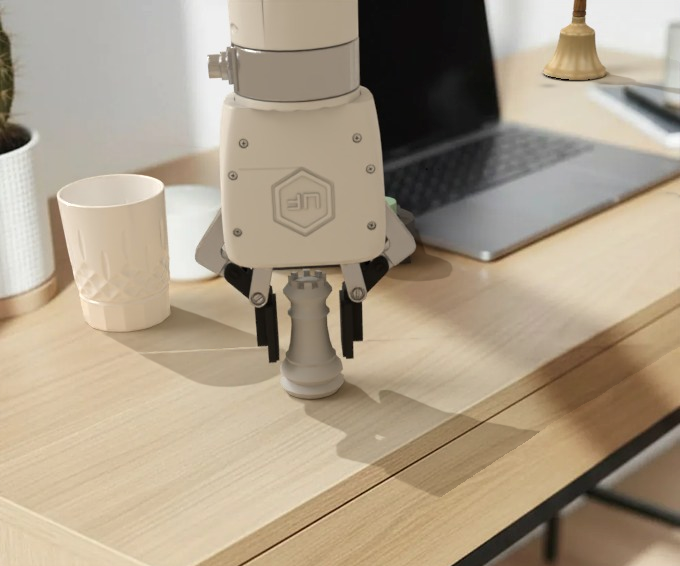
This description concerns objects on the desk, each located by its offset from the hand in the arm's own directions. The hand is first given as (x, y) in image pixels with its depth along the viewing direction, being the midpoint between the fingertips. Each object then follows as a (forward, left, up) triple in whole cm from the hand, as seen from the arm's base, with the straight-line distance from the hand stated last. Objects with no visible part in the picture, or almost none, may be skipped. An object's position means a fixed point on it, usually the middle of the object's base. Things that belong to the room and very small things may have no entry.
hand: (310, 349), depth 81 cm
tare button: (-6, -24, 0) cm, 25 cm away
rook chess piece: (0, 0, -3) cm, 3 cm away
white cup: (+14, -14, -3) cm, 20 cm away
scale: (-3, -27, -3) cm, 27 cm away
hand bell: (-37, -87, -3) cm, 95 cm away
